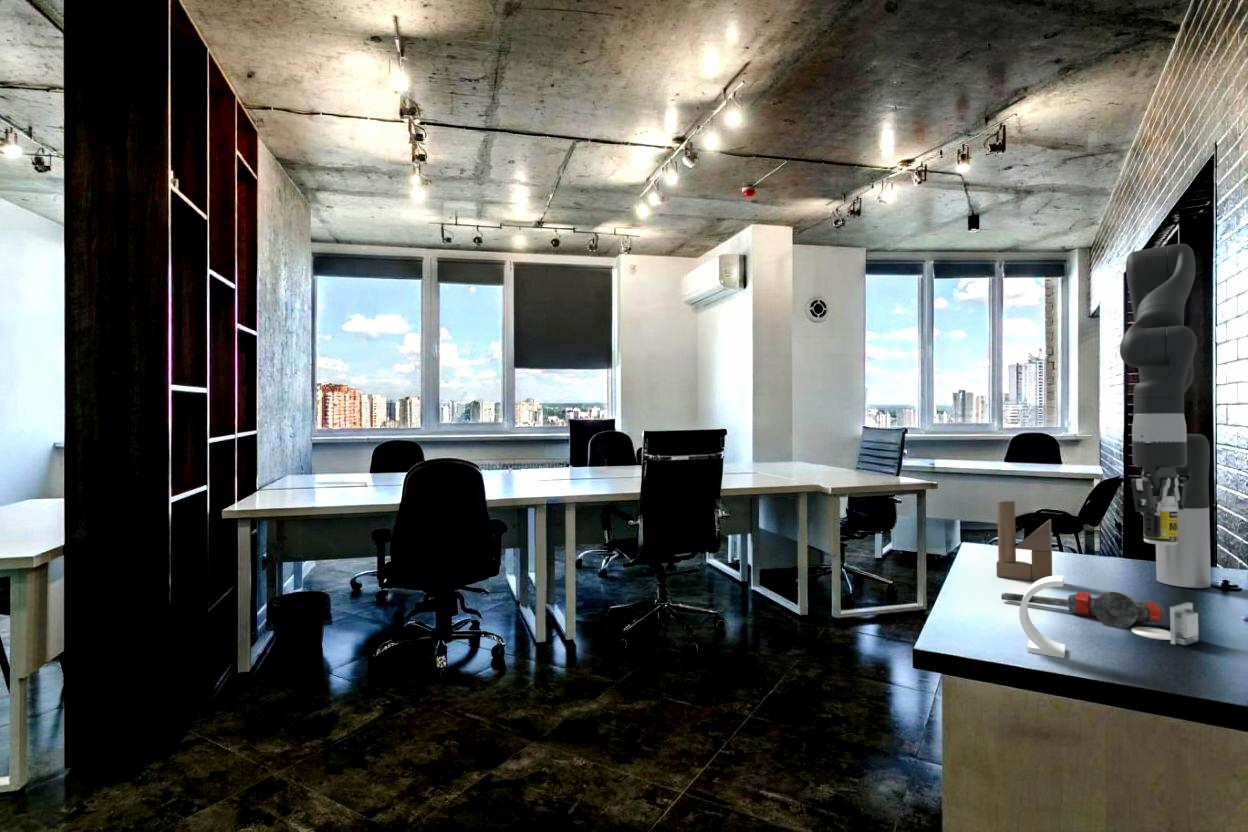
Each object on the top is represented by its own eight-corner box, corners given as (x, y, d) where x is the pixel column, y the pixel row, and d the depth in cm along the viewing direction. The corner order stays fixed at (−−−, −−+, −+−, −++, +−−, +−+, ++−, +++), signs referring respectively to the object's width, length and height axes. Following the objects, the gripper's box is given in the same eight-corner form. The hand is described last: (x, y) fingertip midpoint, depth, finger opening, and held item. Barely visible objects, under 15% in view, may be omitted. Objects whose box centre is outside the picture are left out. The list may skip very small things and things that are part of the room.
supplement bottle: (1175, 546, 114) (1174, 497, 114) (1140, 543, 117) (1140, 495, 117) (1180, 543, 117) (1179, 495, 117) (1147, 540, 120) (1146, 493, 121)
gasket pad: (1142, 626, 118) (1142, 624, 118) (1183, 636, 113) (1183, 634, 113) (1124, 631, 116) (1124, 630, 116) (1164, 641, 110) (1164, 640, 110)
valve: (1173, 627, 124) (1162, 635, 114) (1017, 608, 142) (995, 612, 132) (1170, 592, 125) (1160, 596, 115) (1016, 577, 143) (994, 580, 133)
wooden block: (1050, 583, 149) (1048, 503, 149) (996, 577, 156) (994, 500, 156) (1052, 580, 152) (1051, 502, 152) (999, 574, 159) (998, 499, 159)
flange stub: (1189, 637, 112) (1188, 602, 112) (1202, 640, 111) (1201, 604, 111) (1170, 643, 110) (1169, 607, 110) (1183, 646, 108) (1182, 609, 108)
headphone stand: (1064, 658, 104) (1062, 581, 104) (1019, 650, 107) (1018, 576, 107) (1065, 649, 108) (1064, 575, 108) (1022, 642, 111) (1021, 571, 111)
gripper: (1155, 439, 124) (1156, 530, 124) (1112, 439, 118) (1114, 535, 117) (1204, 439, 117) (1206, 536, 117) (1162, 439, 111) (1164, 542, 111)
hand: (1160, 535), depth 117 cm, fingers closed on supplement bottle, 4 cm apart
